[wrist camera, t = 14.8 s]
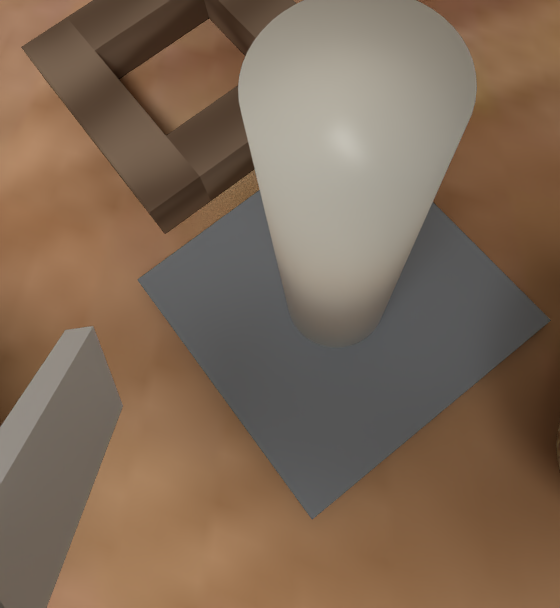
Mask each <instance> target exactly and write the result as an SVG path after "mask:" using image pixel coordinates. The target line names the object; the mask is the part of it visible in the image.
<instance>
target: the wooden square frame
mask: <svg viewBox="0 0 560 608" xmlns="http://www.w3.org/2000/svg"><path fill="white" fill-rule="evenodd" d="M295 4H296V3H295V2H294V1H293V0H93V1H91V2H90V3H88V4H87V5H85V6H84V7H82V8H81V9H79V10H77V11H76V12H74V13H73V14H71V15H70V16H68V17H67V18H65V19H64V20H62V21H61V22H59V23H58V24H56V25H54V26H53V27H51V28H50V29H48V30H47V31H45V32H44V33H42V34H41V35H39V36H38V37H36V38H34V39H33V40H31V41H30V42H28V43H27V44H25V45H24V46H22V47H21V48H22V49H23V50H24V52H25V53H26V54H27V56H28V57H29V58H30V60H31V61H32V62H33V64H34V65H35V66H36V68H37V69H38V70H39V72H40V73H41V74H42V76H43V77H44V78H45V80H46V81H47V82H48V83H49V85H50V86H51V87H52V89H53V90H54V91H55V93H56V94H57V95H58V96H59V98H60V99H61V100H62V102H63V103H64V104H65V105H66V107H67V108H68V109H69V111H70V112H71V113H72V115H73V116H74V117H75V118H76V120H77V121H78V122H79V124H80V125H81V126H82V127H83V129H84V130H85V131H86V133H87V134H88V135H89V136H90V138H91V139H92V140H93V142H94V143H95V144H96V146H97V147H98V148H99V149H100V151H101V152H102V153H103V155H104V156H105V157H106V158H107V160H108V161H109V162H110V164H111V165H112V166H113V167H114V169H115V170H116V171H117V173H118V174H119V175H120V177H121V178H122V179H123V180H124V182H125V183H126V184H127V186H128V187H129V188H130V189H131V191H132V192H133V193H134V195H135V196H136V197H137V198H138V200H139V201H140V202H141V204H142V205H143V206H144V208H145V209H146V210H147V211H148V213H149V214H150V215H151V217H152V218H153V219H154V220H155V222H156V223H157V224H158V226H159V227H160V228H161V229H162V231H163V232H164V233H165V234H166V233H167V232H168V231H170V230H171V229H173V228H174V227H175V226H177V225H178V224H179V223H181V222H182V221H184V220H185V219H186V218H188V217H189V216H190V215H192V214H193V213H195V212H196V211H197V210H199V209H200V208H201V207H203V206H204V205H206V204H207V203H208V202H210V201H211V200H212V199H214V198H215V197H217V196H218V195H219V194H221V193H222V192H224V191H225V190H226V189H228V188H229V187H230V186H232V185H233V184H235V183H236V182H237V181H239V180H240V179H241V178H243V177H244V176H246V175H247V174H248V173H250V172H251V171H252V170H254V169H255V168H254V164H253V160H252V156H251V152H250V147H249V143H248V139H247V135H246V131H245V127H244V122H243V118H242V114H241V109H240V105H239V96H238V86H236V87H235V88H234V89H232V90H231V91H229V92H228V93H226V94H225V95H224V96H222V97H221V98H219V99H218V100H216V101H215V102H214V103H212V104H211V105H209V106H208V107H206V108H205V109H204V110H202V111H201V112H199V113H198V114H196V115H195V116H194V117H192V118H191V119H189V120H188V121H186V122H185V123H184V124H182V125H181V126H179V127H178V128H176V129H175V130H174V131H172V132H171V133H169V134H168V135H165V134H164V133H163V132H162V131H161V129H160V128H159V127H158V126H157V125H156V123H155V122H154V121H153V120H152V119H151V117H150V116H149V115H148V114H147V113H146V111H145V110H144V109H143V108H142V107H141V105H140V104H139V103H138V102H137V101H136V99H135V98H134V97H133V96H132V95H131V94H130V92H129V91H128V90H127V89H126V88H125V86H124V85H123V84H122V83H121V82H120V80H119V78H121V77H122V76H124V75H125V74H127V73H128V72H130V71H131V70H133V69H134V68H136V67H137V66H139V65H140V64H142V63H143V62H145V61H146V60H147V59H149V58H150V57H152V56H153V55H155V54H156V53H158V52H159V51H161V50H162V49H164V48H165V47H167V46H168V45H170V44H171V43H173V42H174V41H176V40H177V39H179V38H180V37H181V36H183V35H184V34H186V33H187V32H189V31H190V30H192V29H193V28H195V27H196V26H198V25H199V24H201V23H202V22H204V21H205V20H207V19H208V18H210V19H211V21H212V22H213V23H214V24H215V25H216V26H217V27H218V28H219V29H220V30H221V31H222V32H223V33H224V34H225V35H226V36H227V37H228V38H229V39H230V40H231V41H232V42H233V43H234V44H235V45H236V47H237V48H238V49H239V50H240V51H241V52H242V53H243V54H244V55H245V56H246V54H247V52H248V50H249V48H250V47H251V45H252V43H253V41H254V40H255V39H256V37H257V36H258V35H259V34H260V32H261V31H262V30H263V29H264V28H265V27H266V26H267V25H268V24H269V23H270V22H271V21H272V20H273V19H274V18H276V17H277V16H278V15H280V14H281V13H282V12H284V11H285V10H287V9H289V8H290V7H292V6H293V5H295Z"/></svg>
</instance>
